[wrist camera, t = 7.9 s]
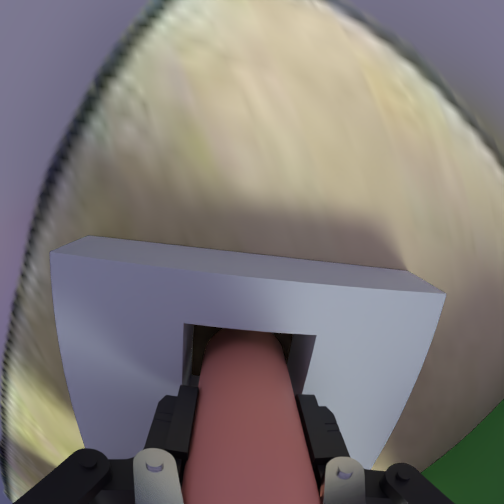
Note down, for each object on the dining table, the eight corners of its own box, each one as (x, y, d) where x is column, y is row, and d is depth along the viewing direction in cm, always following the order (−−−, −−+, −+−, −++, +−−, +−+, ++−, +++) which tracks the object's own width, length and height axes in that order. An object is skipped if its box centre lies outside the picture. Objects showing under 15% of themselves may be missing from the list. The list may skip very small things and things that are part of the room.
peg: (289, 327, 15) (369, 572, 3) (276, 391, 16) (314, 603, 4) (206, 319, 14) (158, 579, 3) (202, 385, 15) (173, 603, 4)
